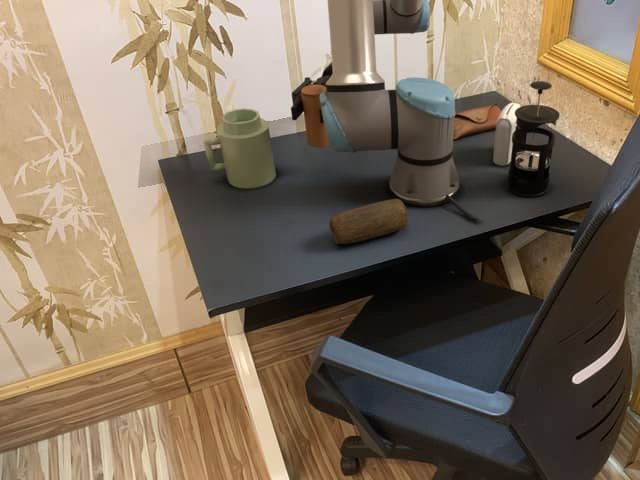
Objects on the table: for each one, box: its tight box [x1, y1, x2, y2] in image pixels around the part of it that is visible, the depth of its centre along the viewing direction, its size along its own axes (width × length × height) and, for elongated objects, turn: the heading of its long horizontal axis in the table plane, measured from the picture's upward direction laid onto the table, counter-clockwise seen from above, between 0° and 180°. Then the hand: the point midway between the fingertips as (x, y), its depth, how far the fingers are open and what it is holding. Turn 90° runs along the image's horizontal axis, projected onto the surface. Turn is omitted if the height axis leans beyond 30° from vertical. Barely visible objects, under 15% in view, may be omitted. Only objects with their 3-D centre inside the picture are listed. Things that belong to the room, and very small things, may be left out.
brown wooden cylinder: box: [328, 198, 408, 245], centre depth 121 cm, size 15×7×7 cm, turn 117°
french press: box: [505, 80, 561, 198], centre depth 130 cm, size 12×9×23 cm
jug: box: [203, 107, 277, 189], centre depth 137 cm, size 11×14×14 cm
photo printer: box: [492, 102, 522, 167], centre depth 144 cm, size 10×4×12 cm, turn 157°
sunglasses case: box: [453, 103, 502, 140], centre depth 159 cm, size 18×7×7 cm, turn 118°
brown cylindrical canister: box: [301, 85, 330, 149], centre depth 135 cm, size 6×6×12 cm
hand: (307, 115), depth 130 cm, fingers closed on brown cylindrical canister, 6 cm apart
